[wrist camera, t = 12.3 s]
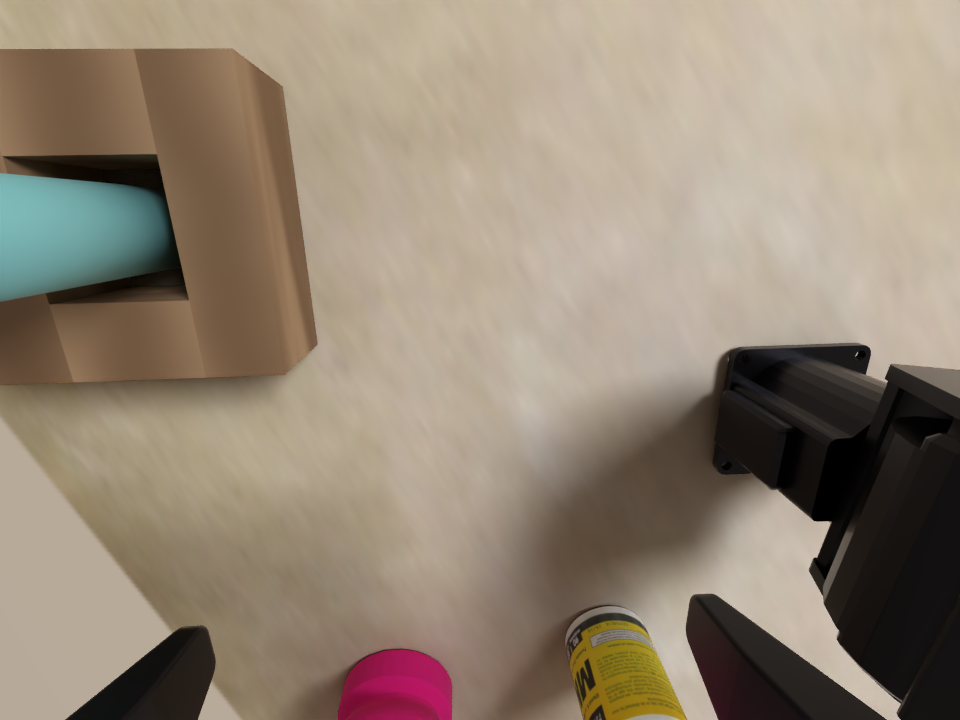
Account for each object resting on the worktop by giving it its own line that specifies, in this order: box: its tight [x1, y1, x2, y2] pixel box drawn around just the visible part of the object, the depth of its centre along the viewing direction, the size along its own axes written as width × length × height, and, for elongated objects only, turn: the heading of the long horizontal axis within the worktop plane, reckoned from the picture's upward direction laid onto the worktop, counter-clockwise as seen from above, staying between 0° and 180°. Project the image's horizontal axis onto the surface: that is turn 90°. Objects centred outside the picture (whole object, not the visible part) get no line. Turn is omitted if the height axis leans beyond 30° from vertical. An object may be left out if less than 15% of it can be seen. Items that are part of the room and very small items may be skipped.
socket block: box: [0, 49, 317, 385], centre depth 16 cm, size 10×10×4 cm
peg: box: [0, 173, 182, 302], centre depth 12 cm, size 3×3×12 cm
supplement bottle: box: [565, 606, 687, 720], centre depth 22 cm, size 5×5×8 cm
